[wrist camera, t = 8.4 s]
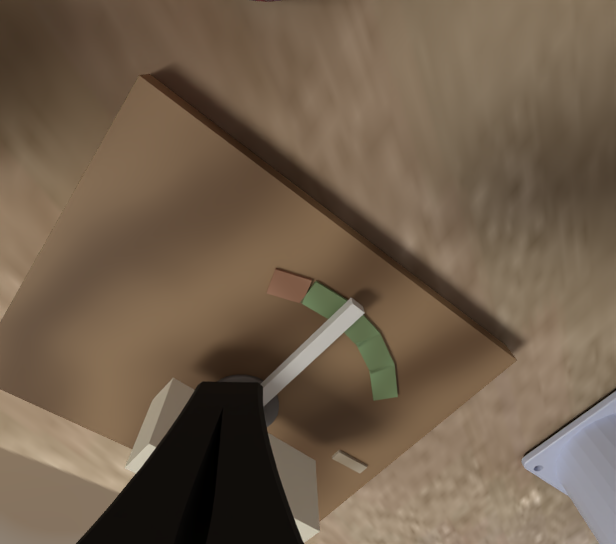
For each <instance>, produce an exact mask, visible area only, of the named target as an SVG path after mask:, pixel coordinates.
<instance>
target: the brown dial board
mask: <svg viewBox="0 0 616 544" xmlns="http://www.w3.org/2000/svg"><path fill="white" fill-rule="evenodd" d="M350 298H353V299H354V300H355V301H356V302H358V303H359V304H360V305H361V306H363V308H364V312H365V313H364V314H363V315H362V316H361V317H360V318H359V319H358V320H357V321H356V322H355V323H353V324H352V325H351V326H350V327H349V328H348V329H347V330H346V331H345V332H344V333H343V334H342V335H340V336H339V337H338V338H337V339H336V340H335V341H334V342H333V343H332V344H331V345H330V346H329V347H327V348H326V349H325V350H324V351H323V352H322V353H321V354H320V355H319V356H318V357H317V358H316V359H314V360H313V361H312V362H311V363H310V364H309V365H308V366H307V367H306V368H305V369H304V370H303V371H302V372H300V373H299V374H298V375H297V376H296V377H295V378H294V379H293V380H292V381H291V382H290V383H289V384H287V385H286V386H285V387H284V388H283V389H282V390H281V391H280V392H279V393H278V394H277V395H276V396H274V397H273V398H272V399H271V400H270V401H269V402H268V403H267V404H266V405H265V408H266V426H267V431H268V433H269V434H271V435H272V436H274V437H276V438H278V439H279V440H281V441H283V442H284V443H286V444H288V445H290V446H291V447H293V448H295V449H296V450H298V451H300V452H302V453H303V454H305V455H307V456H308V457H310V458H312V459H314V460H315V461H316V478H317V494H318V511H319V522H320V521H321V520H322V519H323V518H325V517H326V516H327V515H328V514H330V513H331V512H332V511H333V510H334V509H336V508H337V507H338V506H339V505H341V504H342V503H343V502H344V501H345V500H347V499H348V498H349V497H350V496H352V495H353V494H354V493H355V492H356V491H358V490H359V489H360V488H361V487H363V486H364V485H365V484H366V483H367V482H369V481H370V480H371V479H372V478H374V477H375V476H376V475H377V474H378V473H380V472H381V471H382V470H383V469H385V468H386V467H387V466H388V465H389V464H391V463H392V462H393V461H394V460H396V459H397V458H398V457H399V456H400V455H402V454H403V453H404V452H405V451H407V450H408V449H409V448H410V447H412V446H413V445H414V444H415V443H416V442H418V441H419V440H420V439H421V438H423V437H424V436H425V435H426V434H427V433H429V432H430V431H431V430H432V429H434V428H435V427H436V426H437V425H438V424H440V423H441V422H442V421H443V420H445V419H446V418H447V417H448V416H449V415H451V414H452V413H453V412H454V411H456V410H457V409H458V408H459V407H460V406H462V405H463V404H464V403H465V402H467V401H468V400H469V399H470V398H471V397H473V396H474V395H475V394H476V393H478V392H479V391H480V390H481V389H482V388H484V387H485V386H486V385H487V384H489V383H490V382H491V381H492V380H493V379H495V378H496V377H497V376H498V375H500V374H501V373H502V372H503V371H505V370H506V369H507V368H508V367H509V366H511V365H512V364H513V363H514V362H516V361H517V360H516V358H515V357H514V356H513V354H512V353H511V352H510V350H509V349H508V348H507V346H506V345H505V344H503V343H502V342H501V341H500V340H498V339H497V338H496V337H494V336H493V335H492V334H490V333H489V332H488V331H486V330H485V329H484V328H482V327H481V326H480V325H479V324H477V323H476V322H475V321H473V320H472V319H471V318H469V317H468V316H467V315H465V314H464V313H463V312H461V311H460V310H459V309H457V308H456V307H455V306H454V305H452V304H451V303H450V302H448V301H447V300H446V299H444V298H443V297H442V296H440V295H439V294H438V293H436V292H435V291H434V290H433V289H431V288H430V287H429V286H427V285H426V284H425V283H423V282H422V281H421V280H419V279H418V278H417V277H415V276H414V275H413V274H412V273H410V272H409V271H408V270H406V269H405V268H404V267H402V266H401V265H400V264H398V263H397V262H396V261H394V260H393V259H392V258H391V257H389V256H388V255H387V254H385V253H384V252H383V251H381V250H380V249H379V248H377V247H376V246H375V245H373V244H372V243H371V242H370V241H368V240H367V239H366V238H364V237H363V236H362V235H360V234H359V233H358V232H356V231H355V230H354V229H352V228H351V227H350V226H348V225H347V224H346V223H345V222H343V221H342V220H341V219H339V218H338V217H337V216H335V215H334V214H333V213H331V212H330V211H329V210H327V209H326V208H325V207H324V206H322V205H321V204H320V203H318V202H317V201H316V200H314V199H313V198H312V197H310V196H309V195H308V194H306V193H305V192H304V191H303V190H301V189H300V188H299V187H297V186H296V185H295V184H293V183H292V182H291V181H289V180H288V179H287V178H285V177H284V176H283V175H282V174H280V173H279V172H278V171H276V170H275V169H274V168H272V167H271V166H270V165H268V164H267V163H266V162H264V161H263V160H262V159H261V158H259V157H258V156H257V155H255V154H254V153H253V152H251V151H250V150H249V149H247V148H246V147H245V146H243V145H242V144H241V143H239V142H238V141H237V140H236V139H234V138H233V137H232V136H230V135H229V134H228V133H226V132H225V131H224V130H222V129H221V128H220V127H218V126H217V125H216V124H215V123H213V122H212V121H211V120H209V119H208V118H207V117H205V116H204V115H203V114H201V113H200V112H199V111H197V110H196V109H195V108H194V107H192V106H191V105H190V104H188V103H187V102H186V101H184V100H183V99H182V98H180V97H179V96H178V95H176V94H175V93H174V92H173V91H171V90H170V89H169V88H167V87H166V86H165V85H163V84H162V83H161V82H159V81H158V80H157V79H155V78H154V77H153V76H152V75H150V74H146V75H139V76H138V78H137V80H136V81H135V83H134V85H133V87H132V89H131V90H130V92H129V94H128V96H127V97H126V99H125V101H124V103H123V105H122V106H121V108H120V110H119V112H118V113H117V115H116V117H115V119H114V121H113V122H112V124H111V126H110V128H109V130H108V131H107V133H106V135H105V137H104V138H103V140H102V142H101V144H100V146H99V147H98V149H97V151H96V153H95V154H94V156H93V158H92V160H91V162H90V163H89V165H88V167H87V169H86V170H85V172H84V174H83V176H82V178H81V179H80V181H79V183H78V185H77V187H76V188H75V190H74V192H73V194H72V195H71V197H70V199H69V201H68V203H67V204H66V206H65V208H64V210H63V211H62V213H61V215H60V217H59V219H58V220H57V222H56V224H55V226H54V227H53V229H52V231H51V233H50V235H49V236H48V238H47V240H46V242H45V244H44V245H43V247H42V249H41V251H40V252H39V254H38V256H37V258H36V260H35V261H34V263H33V265H32V267H31V268H30V270H29V272H28V274H27V276H26V277H25V279H24V281H23V283H22V285H21V286H20V288H19V290H18V292H17V293H16V295H15V297H14V299H13V301H12V302H11V304H10V306H9V308H8V309H7V311H6V313H5V315H4V317H3V318H2V320H1V322H0V389H1V390H3V391H5V392H8V393H10V394H12V395H14V396H16V397H19V398H21V399H23V400H25V401H27V402H30V403H32V404H34V405H36V406H38V407H41V408H43V409H45V410H47V411H49V412H52V413H54V414H56V415H58V416H60V417H63V418H65V419H67V420H69V421H71V422H74V423H76V424H78V425H80V426H82V427H85V428H87V429H89V430H91V431H93V432H96V433H98V434H100V435H102V436H104V437H107V438H109V439H111V440H113V441H115V442H118V443H120V444H122V445H124V446H126V447H129V448H131V449H133V446H134V444H135V442H136V439H137V437H138V434H139V432H140V429H141V427H142V424H143V422H144V419H145V417H146V415H147V412H148V410H149V407H150V405H151V402H152V400H153V399H154V398H155V397H156V396H157V394H158V393H159V392H160V391H161V390H162V389H163V388H164V387H165V386H166V385H167V384H168V383H169V382H170V381H171V379H172V378H175V379H177V380H178V381H180V382H182V383H183V384H185V385H187V386H189V387H190V388H192V389H194V390H195V389H196V387H197V385H198V384H200V383H201V382H202V381H211V382H258V383H259V384H261V383H262V382H263V381H264V380H265V379H266V378H267V377H268V376H269V375H270V374H271V373H273V372H274V371H275V370H276V369H277V368H278V367H279V366H280V365H281V364H282V363H283V362H284V361H285V360H286V359H287V358H288V357H289V356H290V355H291V354H292V353H293V352H295V351H296V350H297V349H298V348H299V347H300V346H301V345H302V344H303V343H304V342H305V341H306V340H307V339H308V338H309V337H310V336H311V335H312V334H313V333H314V332H315V331H317V330H318V329H319V328H320V327H321V326H322V325H323V324H324V323H325V322H326V321H327V320H328V319H329V318H330V317H331V316H332V315H333V314H334V313H335V312H336V311H337V310H339V309H340V308H341V307H342V306H343V305H344V304H345V303H346V302H347V301H348V300H349V299H350Z"/></svg>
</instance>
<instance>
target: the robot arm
mask: <svg viewBox="0 0 616 544" xmlns="http://www.w3.org/2000/svg"><path fill="white" fill-rule="evenodd" d="M522 464H523V466H524V468H525V469H527V470H528V471H530V472H531V473H533V474H535V475H536V476H538V477H539V478H541V479H542V480H544V481H546V482H547V483H549V484H550V485H552V486H553V487H555V488H557V489H558V490H560V491H561V492H563V493H564V494H566V495H568V496H569V497H570V498H571V500H572V501H573V503H574V504H575V506H576V508H577V509H578V511H579V512H580V514H581V515H582V517H583V519H584V520H585V522H586V523H587V525H588V526H589V528H590V530H591V531H592V533H593V534H594V536H595V537H596V539H597V540H598V542H599V544H616V391H615V392H614V393H612V394H611V395H609V396H608V397H607V398H605V399H604V400H602V401H601V402H600V403H598V404H597V405H595V406H594V407H593V408H591V409H590V410H588V411H587V412H586V413H584V414H583V415H581V416H580V417H579V418H577V419H576V420H574V421H573V422H572V423H570V424H569V425H567V426H566V427H565V428H563V429H562V430H560V431H559V432H558V433H556V434H555V435H553V436H552V437H551V438H549V439H548V440H546V441H545V442H544V443H542V444H541V445H539V446H538V447H537V448H535V449H534V450H532V451H531V452H530V453H528V454H527V455H525V456H524V457H523V458H522ZM76 544H304V542H303V540H302V537H301V535H300V532H299V530H298V527H297V525H296V522H295V519H294V517H293V514H292V511H291V509H290V506H289V503H288V500H287V497H286V494H285V491H284V489H283V486H282V482H281V479H280V476H279V473H278V470H277V466H276V462H275V459H274V455H273V452H272V448H271V444H270V440H269V436H268V431H267V426H266V421H265V415H264V407H263V386H262V385H260V384H259V383H258V382H211V381H202V382H201V383H200V384H198V385H197V387H196V389H195V390H194V392H193V394H192V396H191V397H190V399H189V400H188V402H187V404H186V405H185V407H184V408H183V410H182V411H181V413H180V414H179V416H178V417H177V419H176V420H175V422H174V423H173V425H172V426H171V428H170V429H169V430H168V432H167V433H166V435H165V436H164V437H163V439H162V440H161V441H160V443H159V444H158V445H157V447H156V448H155V450H154V451H153V452H152V454H151V455H150V456H149V458H148V459H147V460H146V462H145V463H144V464H143V466H142V467H141V468H140V469H139V471H138V472H137V473H136V474H135V476H134V477H133V478H132V479H131V480H130V482H129V483H128V484H127V485H126V487H125V488H124V489H123V490H122V492H121V493H120V494H119V495H118V496H117V498H116V499H115V500H114V502H113V503H112V504H111V505H110V506H109V507H108V508H107V510H106V511H105V512H104V513H103V514H102V515H101V517H100V518H99V519H98V520H97V521H96V522H95V523H94V524H93V526H92V527H91V528H90V529H89V530H88V531H87V532H86V533H85V535H84V536H83V537H82V538H81V539H80V540H79V541H78V542H77V543H76Z"/></svg>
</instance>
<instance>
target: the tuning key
mask: <svg viewBox="0 0 616 544" xmlns="http://www.w3.org/2000/svg"><path fill="white" fill-rule="evenodd" d="M364 313H365V312H364V308H363V306H361V305H360V304H359V303H358V302H356V301H355V300H354V299H353V298H350V299H349V300H348V301H347V302H346V303H345V304H344V305H343V306H342V307H341V308H340V309H339V310H337V311H336V312H335V313H334V314H333V315H332V316H331V317H330V318H329V319H328V320H327V321H326V322H325V323H324V324H323V325H322V326H321V327H320V328H319V329H318V330H317V331H315V332H314V333H313V334H312V335H311V336H310V337H309V338H308V339H307V340H306V341H305V342H304V343H303V344H302V345H301V346H300V347H299V348H298V349H297V350H296V351H295V352H293V353H292V354H291V355H290V356H289V357H288V358H287V359H286V360H285V361H284V362H283V363H282V364H281V365H280V366H279V367H278V368H277V369H276V370H275V371H274V372H273V373H271V374H270V375H269V376H268V377H267V378H266V379H265V380H264V381H263V382H262V383H261V384H260V385H262V386H263V407H264V415H265V421H266V408H265V405H266V404H267V403H268V402H269V401H270V400H271V399H272V398H273V397H274V396H276V395H277V394H278V393H279V392H280V391H281V390H282V389H283V388H284V387H285V386H286V385H287V384H289V383H290V382H291V381H292V380H293V379H294V378H295V377H296V376H297V375H298V374H299V373H300V372H302V371H303V370H304V369H305V368H306V367H307V366H308V365H309V364H310V363H311V362H312V361H313V360H314V359H316V358H317V357H318V356H319V355H320V354H321V353H322V352H323V351H324V350H325V349H326V348H327V347H329V346H330V345H331V344H332V343H333V342H334V341H335V340H336V339H337V338H338V337H339V336H340V335H342V334H343V333H344V332H345V331H346V330H347V329H348V328H349V327H350V326H351V325H352V324H353V323H355V322H356V321H357V320H358V319H359V318H360V317H361V316H362V315H363V314H364ZM193 392H194V389H192V388H190V387H189V386H187V385H185V384H183V383H182V382H180V381H178V380H177V379H175V378H172V379H171V381H170V382H169V383H168V384H167V385H166V386H165V387H164V388H163V389H162V390H161V391H160V392H159V393H158V394H157V396H156V397H155V398H154V399H153V400H152V402H151V405H150V407H149V410H148V412H147V415H146V417H145V419H144V422H143V424H142V427H141V429H140V432H139V434H138V437H137V439H136V442H135V444H134V446H133V449H132V451H131V454H130V456H129V459H128V461H127V464H126V466H125V469H127V470H130V471H132V472H134V473H137V472H138V471H139V469H140V468H141V467H142V466H143V464H144V463H145V462H146V460H147V459H148V458H149V456H150V455H151V454H152V452H153V451H154V450H155V448H156V447H157V445H158V444H159V443H160V441H161V440H162V439H163V437H164V436H165V435H166V433H167V432H168V430H169V429H170V428H171V426H172V425H173V423H174V422H175V420H176V419H177V417H178V416H179V414H180V413H181V411H182V410H183V408H184V407H185V405H186V404H187V402H188V400H189V399H190V397H191V396H192V394H193ZM268 436H269V440H270V444H271V448H272V452H273V455H274V459H275V462H276V466H277V470H278V473H279V476H280V479H281V482H282V486H283V489H284V491H285V494H286V497H287V500H288V503H289V506H290V509H291V511H292V514H293V517H294V519H295V522H296V525H297V527H298V530H299V532H300V535H301V537H302V540H303V542H306V541H307V540H309V539H310V538H311V537H313V536H314V535H315V534H317V533H318V532H320V527H319V511H318V494H317V478H316V461H315V460H314V459H312V458H310V457H308V456H307V455H305V454H303V453H302V452H300V451H298V450H296V449H295V448H293V447H291V446H290V445H288V444H286V443H284V442H283V441H281V440H279V439H278V438H276V437H274V436H272V435H271V434H269V433H268Z"/></svg>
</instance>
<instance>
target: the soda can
mask: <svg viewBox="0 0 616 544" xmlns="http://www.w3.org/2000/svg"><path fill="white" fill-rule="evenodd" d="M252 1H265V2H271V1H280V0H252Z"/></svg>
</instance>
